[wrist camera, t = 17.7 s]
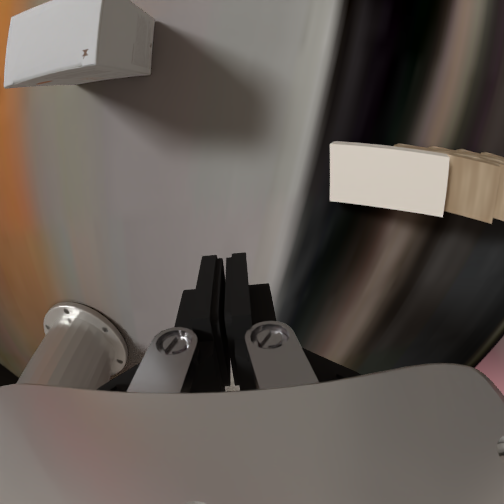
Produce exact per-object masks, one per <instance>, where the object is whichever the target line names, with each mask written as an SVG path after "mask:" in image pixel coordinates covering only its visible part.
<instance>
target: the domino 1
mask: <svg viewBox="0 0 504 504" xmlns="http://www.w3.org/2000/svg"><path fill="white" fill-rule="evenodd" d="M449 160H450V157H449V156H448V155H447V154H444V153H438V152H432V151H425V150H418V149H411V148H403V147H395V146H386V145H376V144H366V143H354V142H340V141H335V142H333V143H331V144H330V201H334V202H343V203H351V204H358V205H366V206H373V207H380V208H387V209H394V210H401V211H407V212H414V213H420V214H426V215H432V216H438V217H443V212H444V206H445V198H446V190H447V181H448V171H449Z"/></svg>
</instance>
